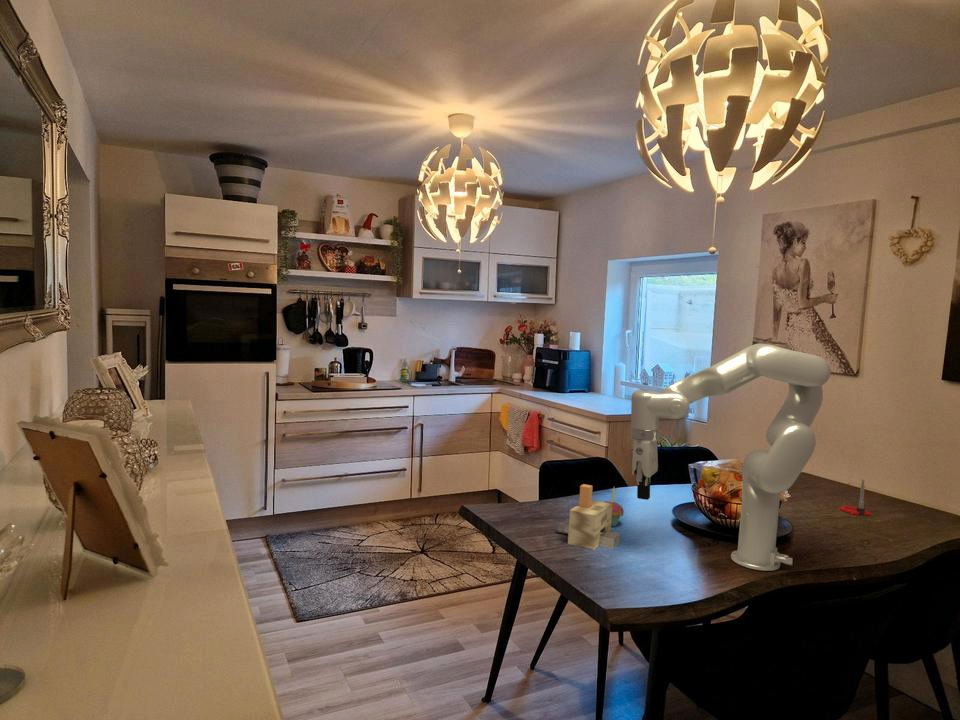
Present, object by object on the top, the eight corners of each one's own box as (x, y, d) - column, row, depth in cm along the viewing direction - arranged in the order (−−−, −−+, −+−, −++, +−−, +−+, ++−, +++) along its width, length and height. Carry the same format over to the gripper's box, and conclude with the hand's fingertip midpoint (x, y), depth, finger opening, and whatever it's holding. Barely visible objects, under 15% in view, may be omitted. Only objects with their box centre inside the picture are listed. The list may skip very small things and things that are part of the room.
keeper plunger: (591, 508, 188) (592, 485, 187) (587, 511, 185) (589, 487, 185) (582, 506, 189) (583, 484, 188) (578, 509, 187) (580, 486, 186)
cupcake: (601, 517, 208) (603, 482, 207) (626, 523, 204) (629, 487, 203) (592, 524, 201) (594, 487, 200) (618, 530, 196) (620, 492, 195)
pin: (619, 543, 186) (620, 533, 185) (612, 549, 181) (613, 538, 180) (563, 529, 195) (563, 520, 194) (555, 535, 190) (555, 525, 189)
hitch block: (610, 536, 191) (612, 504, 190) (593, 550, 179) (596, 515, 178) (585, 530, 195) (587, 498, 194) (567, 543, 183) (569, 510, 182)
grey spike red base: (835, 508, 234) (850, 515, 225) (837, 474, 234) (853, 479, 225) (857, 509, 235) (873, 516, 225) (859, 475, 234) (876, 480, 225)
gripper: (650, 440, 169) (649, 507, 170) (664, 431, 182) (663, 493, 183) (623, 437, 173) (622, 503, 174) (639, 429, 185) (638, 490, 187)
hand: (643, 498), depth 178 cm, fingers closed
